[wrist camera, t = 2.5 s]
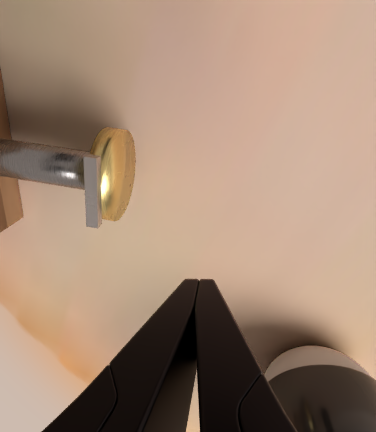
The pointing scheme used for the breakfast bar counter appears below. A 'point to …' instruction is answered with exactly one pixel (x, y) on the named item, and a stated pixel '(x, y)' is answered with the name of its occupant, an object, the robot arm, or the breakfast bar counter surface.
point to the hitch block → (4, 186)
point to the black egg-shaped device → (323, 390)
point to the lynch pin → (79, 170)
